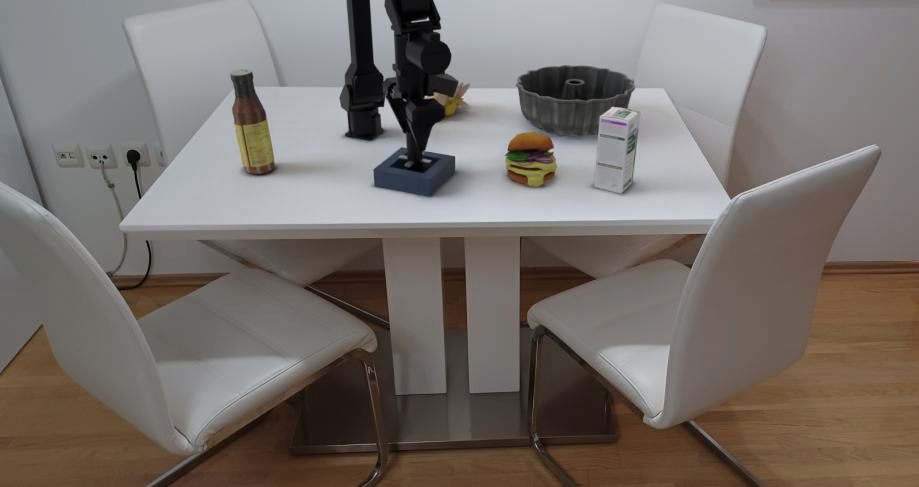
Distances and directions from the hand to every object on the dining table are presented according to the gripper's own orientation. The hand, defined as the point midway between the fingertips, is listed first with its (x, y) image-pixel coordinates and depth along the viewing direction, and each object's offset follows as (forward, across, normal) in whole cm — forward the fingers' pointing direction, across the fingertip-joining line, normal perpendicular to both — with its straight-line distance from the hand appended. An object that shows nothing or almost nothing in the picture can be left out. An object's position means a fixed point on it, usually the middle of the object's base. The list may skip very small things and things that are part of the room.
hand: (414, 141), depth 136 cm
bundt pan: (+8, +15, -43) cm, 46 cm away
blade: (+8, 0, 0) cm, 8 cm away
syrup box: (+8, -17, -34) cm, 39 cm away
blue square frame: (+8, 0, 0) cm, 8 cm away
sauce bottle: (+8, +16, +28) cm, 33 cm away
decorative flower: (+8, +32, -18) cm, 38 cm away
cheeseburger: (+8, -7, -21) cm, 24 cm away
